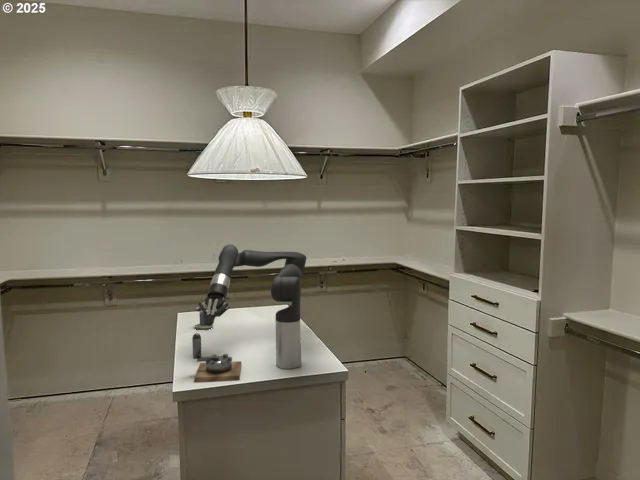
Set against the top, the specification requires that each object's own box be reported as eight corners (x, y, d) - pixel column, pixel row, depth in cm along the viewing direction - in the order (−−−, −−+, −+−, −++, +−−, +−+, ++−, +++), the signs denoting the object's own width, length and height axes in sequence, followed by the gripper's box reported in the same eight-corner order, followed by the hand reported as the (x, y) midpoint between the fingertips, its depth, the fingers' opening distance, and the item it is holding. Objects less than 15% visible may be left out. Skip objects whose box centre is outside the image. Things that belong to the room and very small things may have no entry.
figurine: (202, 331, 212) (201, 306, 211) (191, 328, 217) (190, 304, 216) (216, 327, 218) (215, 303, 217) (205, 324, 223) (204, 301, 222)
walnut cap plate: (241, 365, 168) (241, 360, 168) (239, 379, 154) (239, 375, 154) (200, 367, 166) (200, 362, 166) (194, 382, 152) (194, 377, 152)
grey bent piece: (233, 363, 165) (232, 328, 163) (230, 372, 156) (230, 336, 155) (195, 364, 163) (194, 330, 162) (190, 374, 154) (189, 337, 153)
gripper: (237, 292, 185) (227, 330, 174) (206, 292, 187) (195, 329, 176) (232, 282, 179) (222, 320, 168) (201, 282, 181) (188, 319, 170)
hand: (208, 325), depth 172 cm, fingers closed
